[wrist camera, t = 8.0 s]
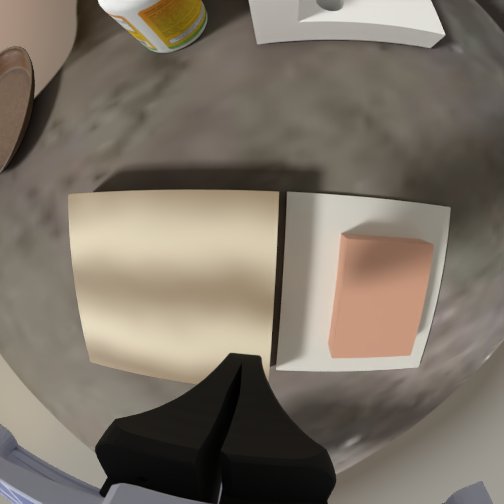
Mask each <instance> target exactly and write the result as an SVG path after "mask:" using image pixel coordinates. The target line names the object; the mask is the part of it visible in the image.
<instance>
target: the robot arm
mask: <svg viewBox="0 0 504 504" xmlns="http://www.w3.org/2000/svg"><path fill="white" fill-rule="evenodd" d="M95 452H96V455H97V458H98V460H99V462H100V464H101V466H102V468H103V469H104V471H105V473H106V475H107V477H108V478H107V479H106V481H105V483H104V485H103V487H102V488H101V489H99V488H97V487H94V486H92V485H90V484H88V483H86V482H83V481H81V480H79V479H77V478H75V477H73V476H71V475H69V474H67V473H65V472H63V471H61V470H59V469H57V468H55V467H54V466H52V465H50V464H48V463H47V462H45V461H43V460H41V459H40V458H38V457H37V456H35V455H33V454H32V453H30V452H28V451H27V450H25V449H24V448H22V447H21V446H19V445H18V443H17V441H16V439H15V438H14V436H13V435H12V434H11V432H10V431H9V430H7V428H5V427H4V426H2V425H1V424H0V493H1V494H2V495H3V496H5V497H6V498H7V499H8V500H9V501H11V502H12V503H13V504H328V503H327V500H328V498H329V496H330V494H331V492H332V491H333V489H334V487H335V484H336V474H335V470H334V467H333V464H332V461H331V459H330V456H329V454H328V452H327V450H326V449H325V448H323V447H322V446H321V445H319V444H318V443H316V442H315V441H313V440H312V439H311V438H309V437H308V436H307V435H306V434H305V433H304V432H303V431H302V430H301V429H300V428H299V427H298V426H297V425H296V424H295V423H294V422H293V421H292V420H291V419H290V417H289V416H288V415H287V414H286V412H285V411H284V410H283V408H282V407H281V405H280V404H279V402H278V400H277V399H276V397H275V395H274V393H273V391H272V389H271V387H270V385H269V383H268V380H267V378H266V375H265V372H264V369H263V365H262V357H261V356H260V355H250V354H240V353H229V354H228V355H227V356H226V358H225V359H224V360H223V361H222V362H221V363H220V364H219V365H218V366H217V367H216V368H215V369H214V370H213V371H212V372H211V373H210V374H209V375H208V376H207V377H206V378H205V379H204V380H202V381H201V382H200V383H199V384H197V385H196V386H195V387H194V388H192V389H191V390H189V391H188V392H186V393H185V394H183V395H182V396H180V397H178V398H177V399H175V400H173V401H171V402H169V403H167V404H165V405H162V406H160V407H158V408H155V409H152V410H150V411H147V412H143V413H140V414H137V415H132V416H128V417H123V418H118V419H115V420H114V422H113V423H112V424H111V425H110V426H109V427H108V429H107V430H106V431H105V433H104V434H103V436H102V437H101V439H100V440H99V442H98V443H97V445H96V447H95ZM443 504H493V502H492V500H491V498H490V496H489V494H488V492H487V490H486V488H485V486H484V484H483V482H482V481H480V482H477V483H475V484H473V485H470V486H468V487H465V488H462V489H460V490H458V491H456V492H455V493H453V494H452V495H451V496H450V497H449V498H448V499H447V501H446V502H445V503H443Z"/></svg>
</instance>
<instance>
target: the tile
mask: <svg viewBox="0 0 504 504" xmlns="http://www.w3.org/2000/svg"><path fill="white" fill-rule="evenodd" d="M433 249H434V244H431V243H429V242H427V241H424V240H422V239H412V238H398V237H384V236H369V235H353V234H341V237H340V249H339V260H338V270H337V279H336V288H335V296H334V304H333V312H332V319H331V326H330V333H329V339H328V346H329V350H330V354H331V357H332V358H372V357H394V356H409V355H411V352H412V349H413V346H414V342H415V338H416V335H417V331H418V327H419V323H420V319H421V315H422V310H423V306H424V301H425V296H426V291H427V286H428V281H429V275H430V269H431V263H432V256H433Z"/></svg>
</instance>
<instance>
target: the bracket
mask: <svg viewBox="0 0 504 504" xmlns="http://www.w3.org/2000/svg"><path fill="white" fill-rule="evenodd" d="M248 1H249V5H250V10H251V15H252V20H253V25H254V30H255V36H256V41H257V44H264V43H274V42H285V41H300V40H364V41H379V42H390V43H399V44H407V45H414V46H421V47H427V48H431V47H432V46H434V45H435V44H436V43H437V42H438V41H439V40H440V39H442V38H443V37H444V36H445V32H444V30H443V27H442V25H441V22H440V20H439V18H438V15H437V13H436V11H435V8H434V6H433V4H432V2H431V0H248Z"/></svg>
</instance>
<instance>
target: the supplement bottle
mask: <svg viewBox="0 0 504 504" xmlns="http://www.w3.org/2000/svg"><path fill="white" fill-rule="evenodd" d="M98 2H99V4H100V6H101V7H102V8H103V9H104V10H105V11H106V12H107V13H108V14H109V15H110V16H111V17H113V18H114V19H115V20H116V21H117V22H118V23H119V24H121V25H122V26H123V27H124V28H125V29H126V30H127V31H129V32H130V33H131V34H132V35H133V36H134V37H135V38H136V39H137V40H139V41H140V42H141V43H142V44H143V45H144V46H145V47H147V48H148V49H150V50H152V51H155V52H160V53H166V52H173V51H176V50H179V49H182V48H184V47H186V46H187V45H189V44H191V43H192V42H193V41H195V40H196V39H197V38H198V37H199V36H200V35H201V34H202V32H203V30H204V29H205V26H206V24H207V11H206V9H205V6H204V4H203V2H202V0H98Z"/></svg>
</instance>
